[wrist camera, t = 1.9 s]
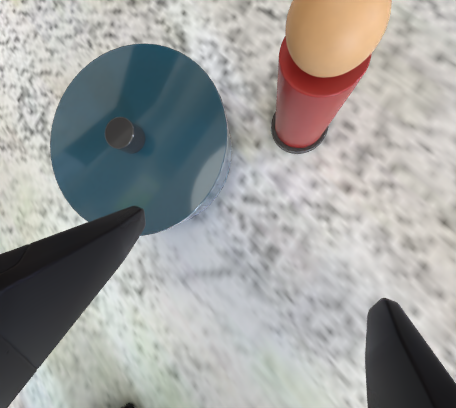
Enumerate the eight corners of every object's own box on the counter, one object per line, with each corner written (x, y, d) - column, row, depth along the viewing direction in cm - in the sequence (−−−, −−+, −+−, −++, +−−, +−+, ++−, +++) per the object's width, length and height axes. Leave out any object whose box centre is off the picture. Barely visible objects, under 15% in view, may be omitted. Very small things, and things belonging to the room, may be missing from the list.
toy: (293, 164, 21) (336, 84, 7) (260, 124, 21) (244, -17, 8) (338, 130, 20) (473, -26, 7) (303, 90, 21) (363, -128, 7)
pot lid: (155, 272, 18) (135, 283, 16) (32, 164, 21) (-3, 157, 18) (269, 117, 17) (269, 101, 14) (125, 19, 19) (102, -11, 17)
